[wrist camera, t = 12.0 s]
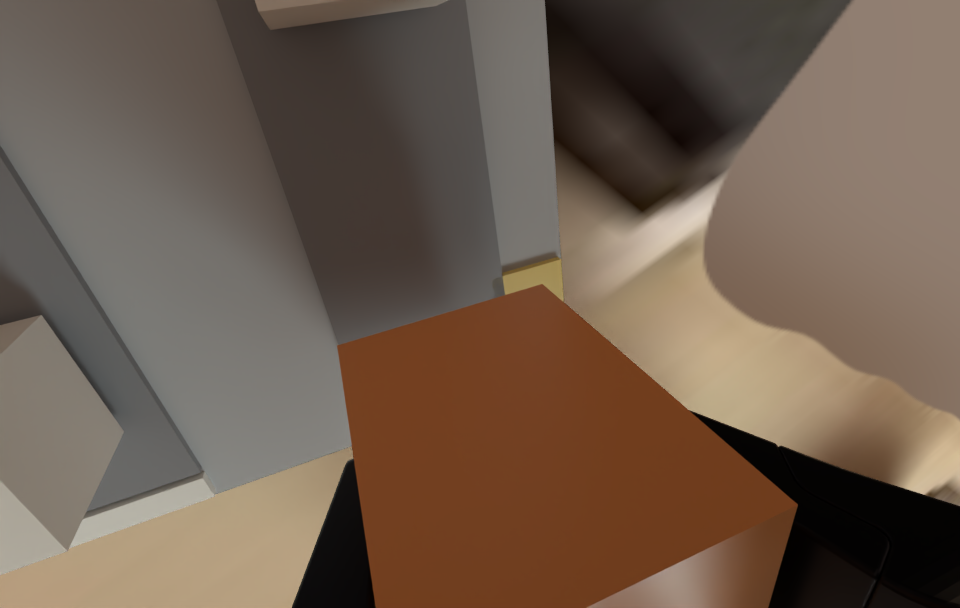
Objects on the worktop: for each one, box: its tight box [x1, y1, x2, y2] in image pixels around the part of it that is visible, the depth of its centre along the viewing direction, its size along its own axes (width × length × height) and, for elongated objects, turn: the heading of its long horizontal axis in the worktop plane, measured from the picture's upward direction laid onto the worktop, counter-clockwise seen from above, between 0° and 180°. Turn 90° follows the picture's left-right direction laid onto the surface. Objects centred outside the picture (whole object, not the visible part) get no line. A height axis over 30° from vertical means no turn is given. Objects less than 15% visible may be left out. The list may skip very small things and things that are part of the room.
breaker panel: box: [0, 0, 564, 548], centre depth 10 cm, size 16×17×3 cm
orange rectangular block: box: [337, 284, 798, 608], centre depth 7 cm, size 4×4×6 cm
